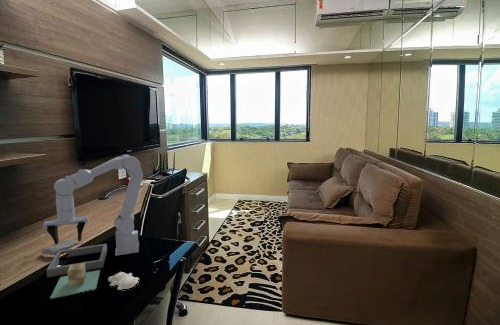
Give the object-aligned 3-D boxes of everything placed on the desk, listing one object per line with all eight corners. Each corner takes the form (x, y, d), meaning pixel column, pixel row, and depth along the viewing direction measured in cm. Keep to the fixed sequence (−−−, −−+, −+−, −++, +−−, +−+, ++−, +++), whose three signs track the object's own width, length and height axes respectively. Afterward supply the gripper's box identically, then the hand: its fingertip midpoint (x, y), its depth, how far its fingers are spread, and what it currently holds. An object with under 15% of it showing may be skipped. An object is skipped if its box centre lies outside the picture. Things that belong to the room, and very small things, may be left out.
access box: (107, 249, 119) (106, 243, 119) (103, 267, 104) (102, 260, 104) (58, 257, 112) (58, 250, 111) (47, 277, 97) (46, 270, 96)
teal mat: (100, 270, 102) (100, 269, 102) (95, 289, 90) (95, 288, 90) (60, 277, 97) (60, 276, 97) (50, 299, 85) (50, 297, 85)
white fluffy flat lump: (126, 272, 102) (126, 265, 101) (143, 283, 95) (143, 275, 94) (103, 282, 95) (103, 274, 94) (119, 295, 88) (119, 287, 87)
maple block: (86, 277, 96) (84, 262, 96) (83, 284, 92) (82, 268, 92) (71, 280, 95) (70, 264, 94) (68, 287, 91) (67, 271, 90)
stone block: (39, 260, 113) (56, 259, 110) (37, 249, 112) (54, 248, 110) (65, 249, 124) (81, 248, 121) (63, 239, 124) (79, 238, 121)
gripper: (39, 214, 95) (42, 249, 97) (85, 210, 101) (87, 242, 103) (45, 209, 102) (48, 241, 103) (88, 205, 107) (90, 236, 109)
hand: (68, 241), depth 104 cm, fingers open, 7 cm apart
